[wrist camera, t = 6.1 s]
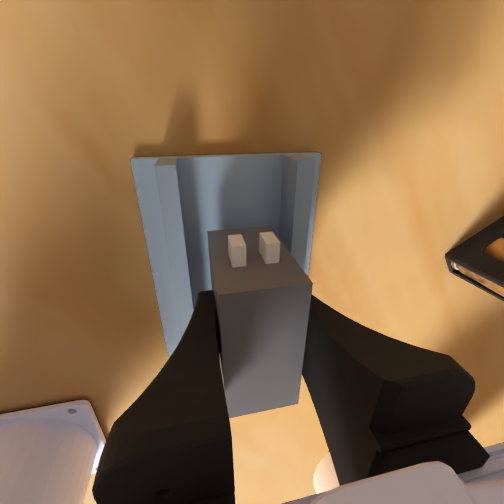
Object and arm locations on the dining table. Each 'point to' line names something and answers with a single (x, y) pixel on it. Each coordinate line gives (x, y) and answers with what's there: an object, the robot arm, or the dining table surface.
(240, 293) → the charcoal plug
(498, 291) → the ammunition clip
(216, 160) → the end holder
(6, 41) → the dining table surface
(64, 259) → the dining table surface
